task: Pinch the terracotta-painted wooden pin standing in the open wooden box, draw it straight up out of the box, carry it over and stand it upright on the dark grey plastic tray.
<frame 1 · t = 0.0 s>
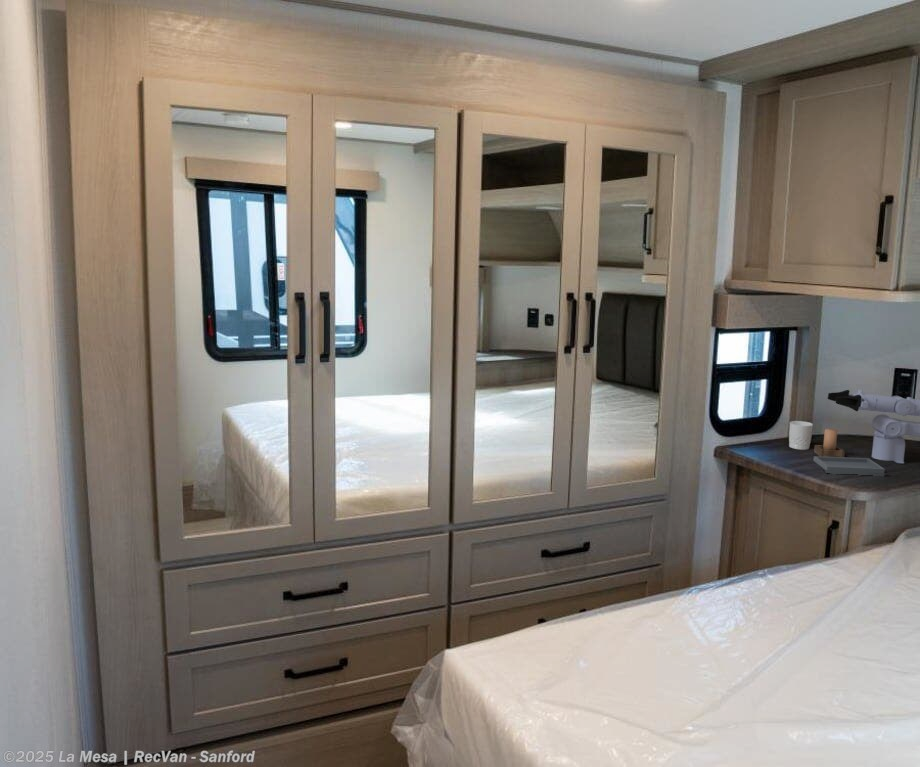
hand: (832, 398, 268), 22 cm above the cabinet, tool horizontal, fingers open, 7 cm apart
open wooden box: (828, 457, 272), on the cabinet
tray: (847, 469, 257), on the cabinet
white cup: (798, 450, 283), on the cabinet
pin: (828, 454, 272), point 1 cm above the cabinet, touching open wooden box
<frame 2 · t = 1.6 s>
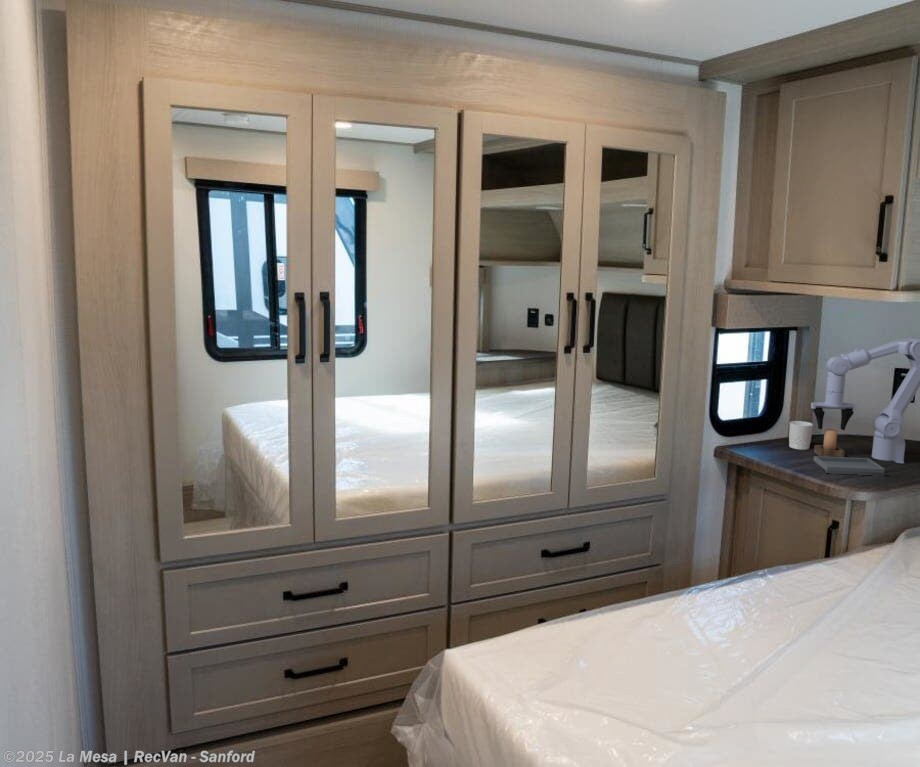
hand: (831, 429, 270), 10 cm above the cabinet, tool pointing down, fingers open, 7 cm apart
nothing on the cabinet moved.
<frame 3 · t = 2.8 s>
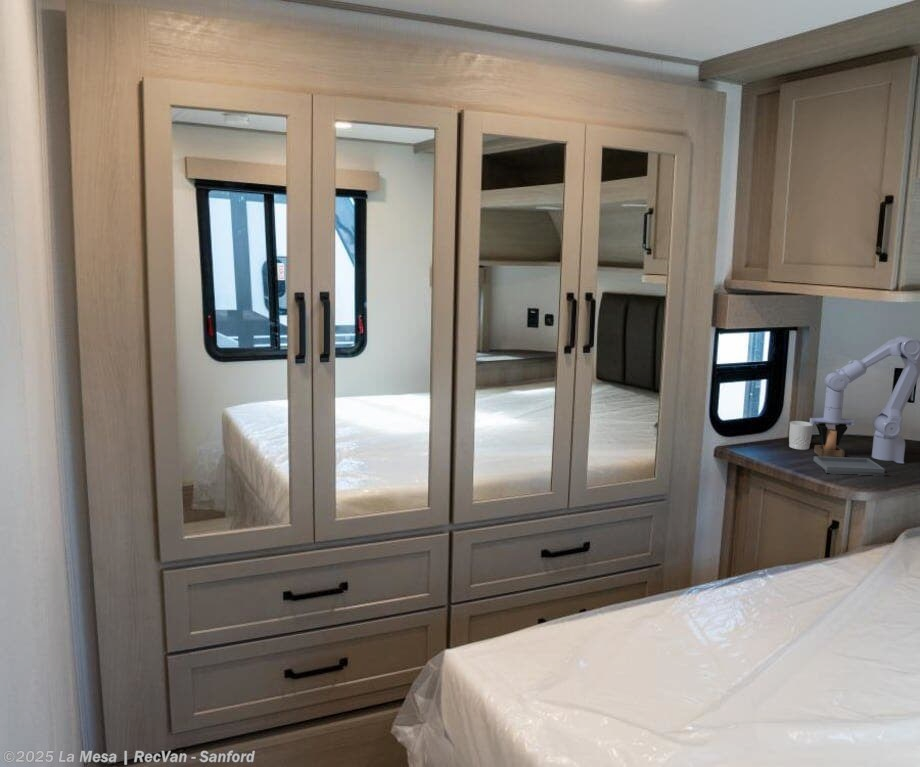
hand: (829, 444, 271), 5 cm above the cabinet, tool pointing down, fingers closed on pin, 4 cm apart
pin: (828, 454, 272), point 1 cm above the cabinet, touching open wooden box, gripper
everything else where it was.
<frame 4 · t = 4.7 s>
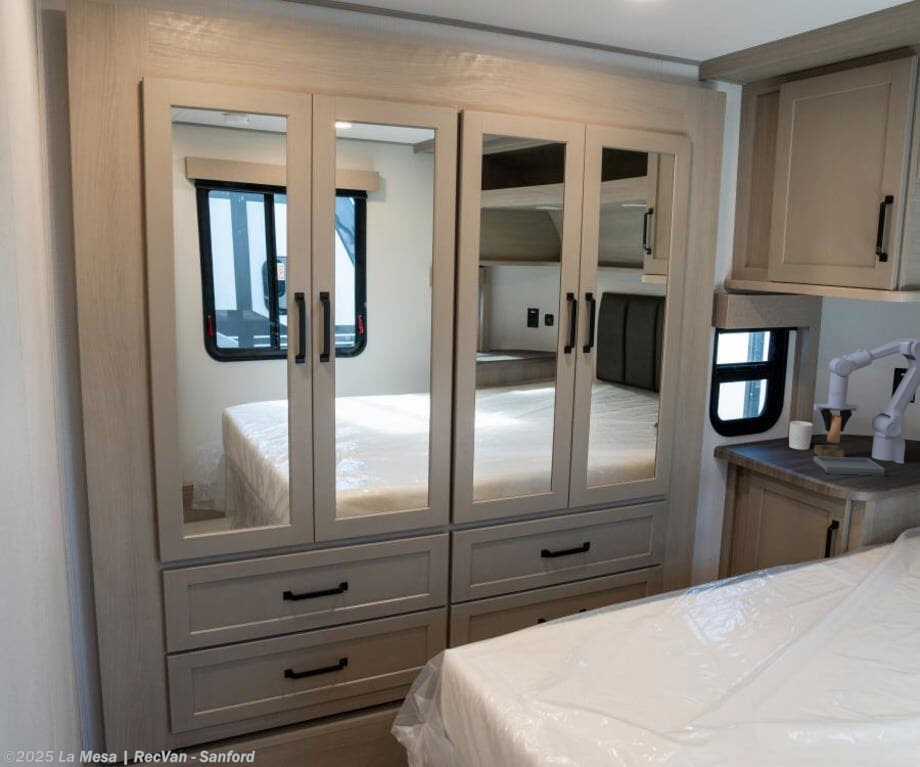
hand: (834, 430, 268), 10 cm above the cabinet, tool pointing down, fingers closed on pin, 4 cm apart
pin: (833, 441, 269), point 7 cm above the cabinet, touching gripper
everything else where it was.
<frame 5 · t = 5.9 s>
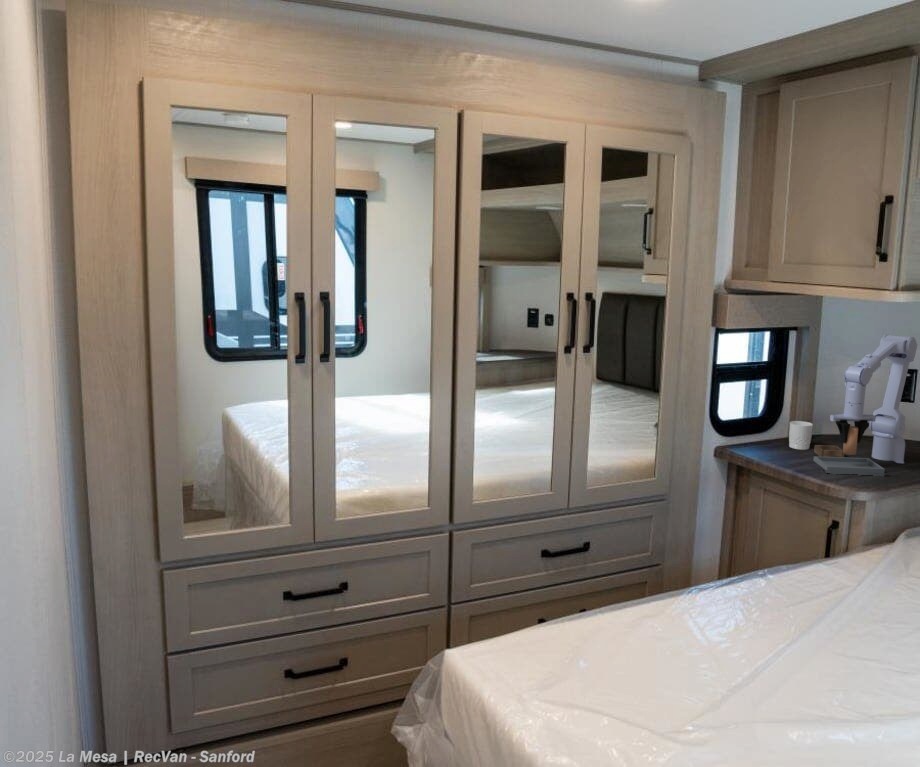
hand: (850, 442, 256), 9 cm above the cabinet, tool pointing down, fingers closed on pin, 4 cm apart
pin: (849, 453, 256), point 6 cm above the cabinet, touching gripper
everything else where it was.
when the fingers open (6 cm above the cabinet, at t = 6.9 s): pin stays where it is, resting on tray.
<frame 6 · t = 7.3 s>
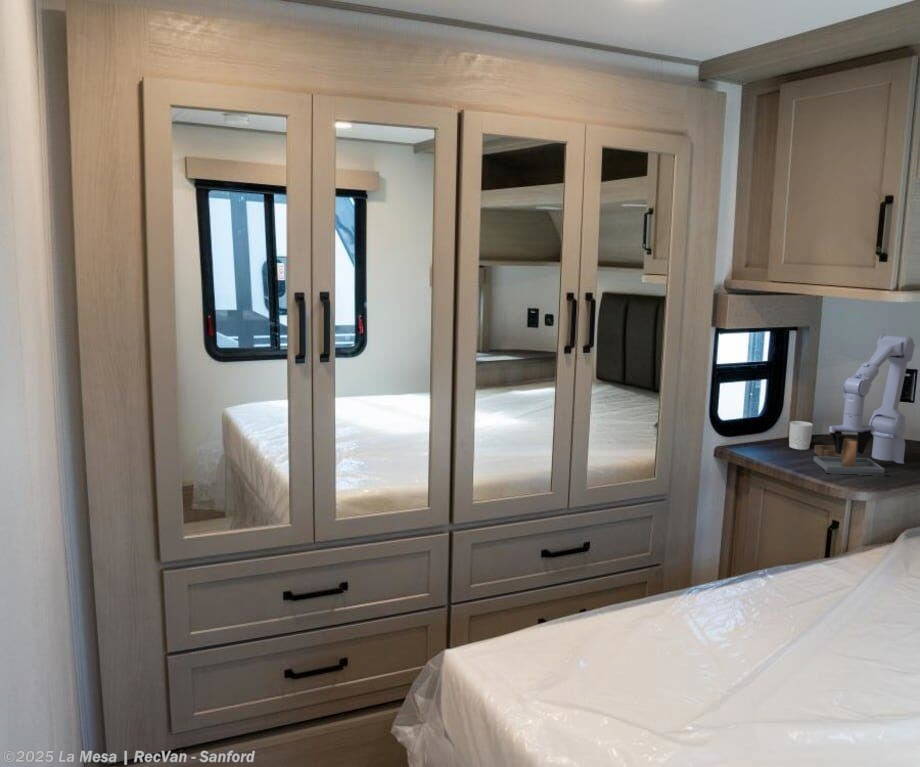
hand: (849, 453, 256), 6 cm above the cabinet, tool pointing down, fingers open, 7 cm apart
pin: (848, 466, 257), point 1 cm above the cabinet, touching tray
everything else where it was.
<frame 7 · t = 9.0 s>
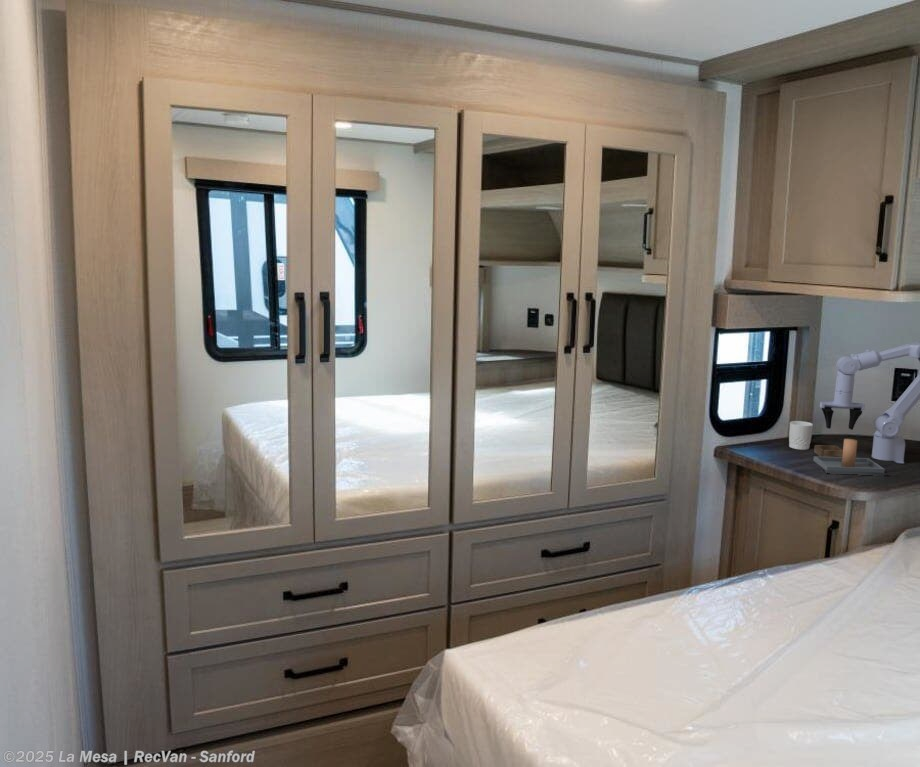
hand: (839, 428, 272), 10 cm above the cabinet, tool pointing down, fingers open, 7 cm apart
nothing on the cabinet moved.
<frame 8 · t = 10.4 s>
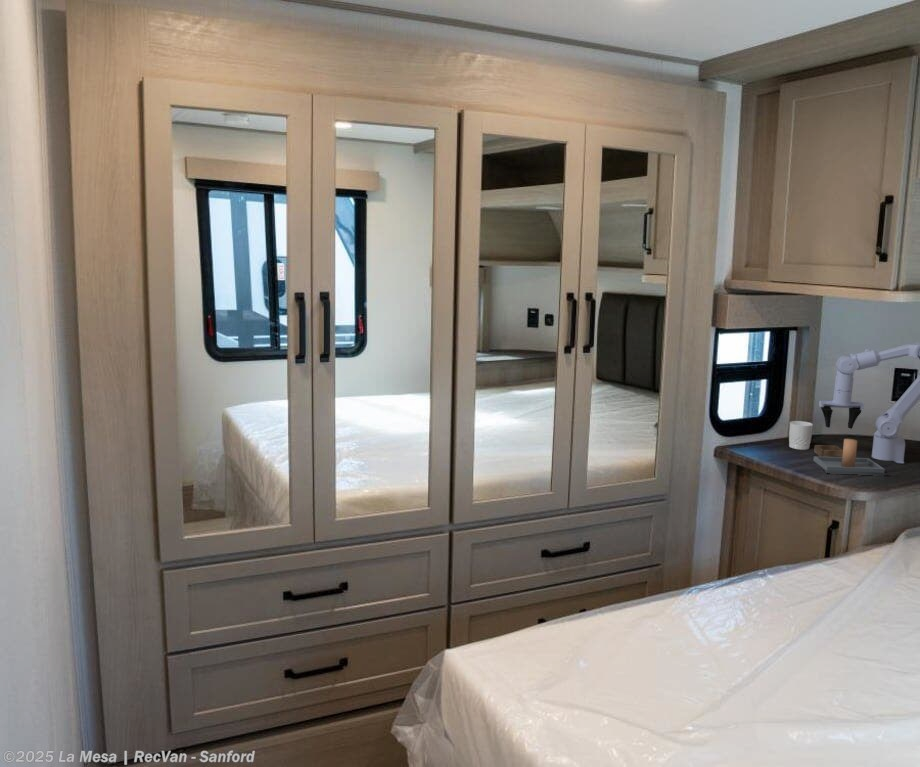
hand: (838, 427, 273), 10 cm above the cabinet, tool pointing down, fingers open, 7 cm apart
nothing on the cabinet moved.
at the end: pin inside the target area on the tray (0.0 cm from its centre), point 1.2 cm above the tray's base; pin tilted 0°; the gripper is holding nothing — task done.
